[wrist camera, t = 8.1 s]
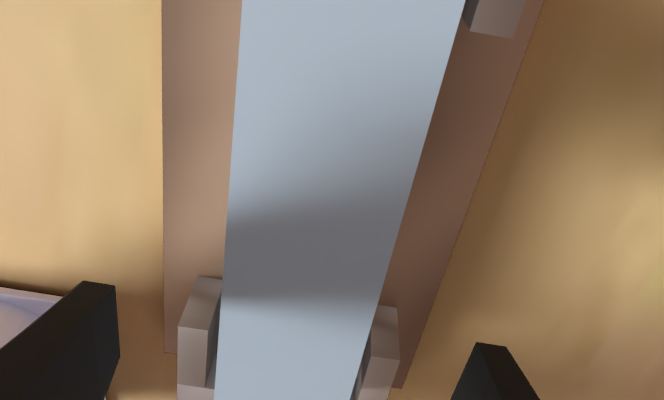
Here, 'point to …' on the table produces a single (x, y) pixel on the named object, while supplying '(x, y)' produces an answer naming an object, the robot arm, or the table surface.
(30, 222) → the table surface
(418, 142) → the slat
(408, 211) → the frame
